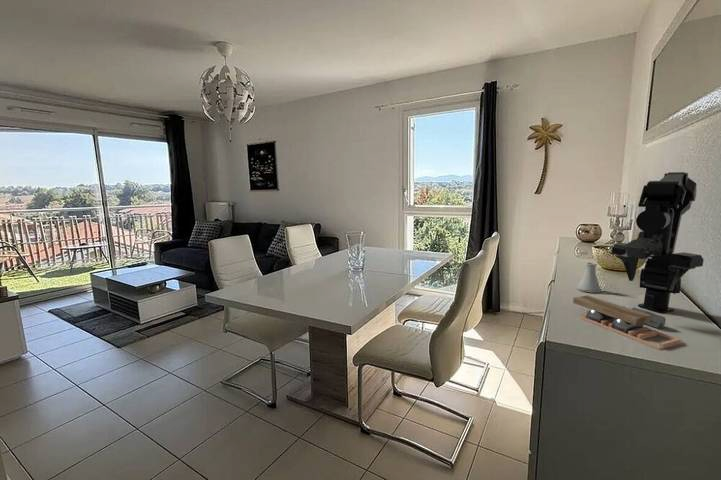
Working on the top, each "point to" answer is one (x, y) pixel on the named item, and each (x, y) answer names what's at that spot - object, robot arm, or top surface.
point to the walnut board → (612, 310)
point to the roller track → (638, 333)
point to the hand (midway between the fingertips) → (649, 285)
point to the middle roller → (625, 325)
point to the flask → (589, 280)
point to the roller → (653, 319)
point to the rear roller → (597, 316)
